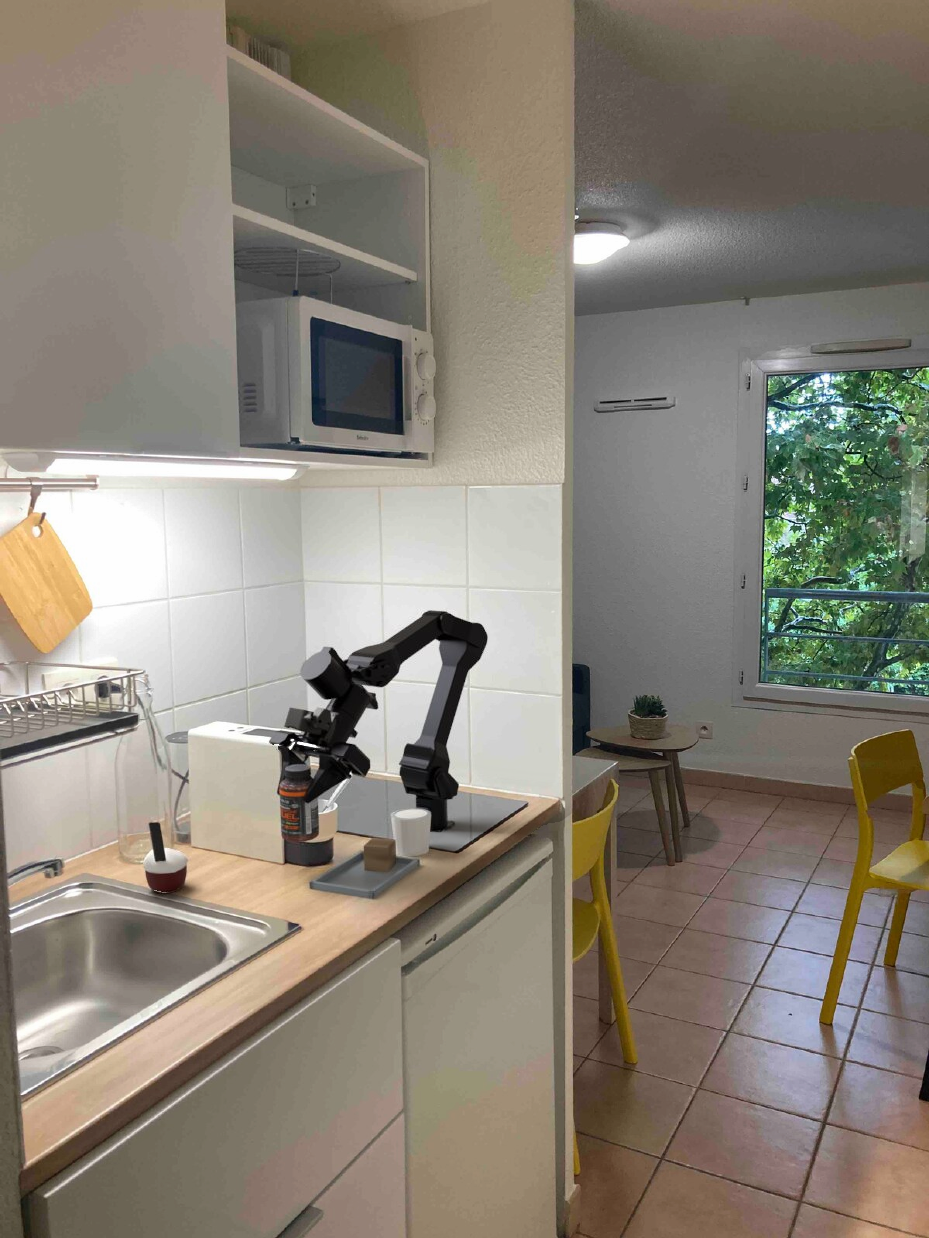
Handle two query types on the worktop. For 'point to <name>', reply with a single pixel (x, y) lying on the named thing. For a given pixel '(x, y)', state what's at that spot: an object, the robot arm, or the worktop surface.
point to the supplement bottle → (298, 805)
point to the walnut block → (380, 855)
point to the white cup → (411, 831)
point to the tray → (362, 877)
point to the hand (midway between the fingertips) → (292, 798)
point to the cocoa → (164, 864)
